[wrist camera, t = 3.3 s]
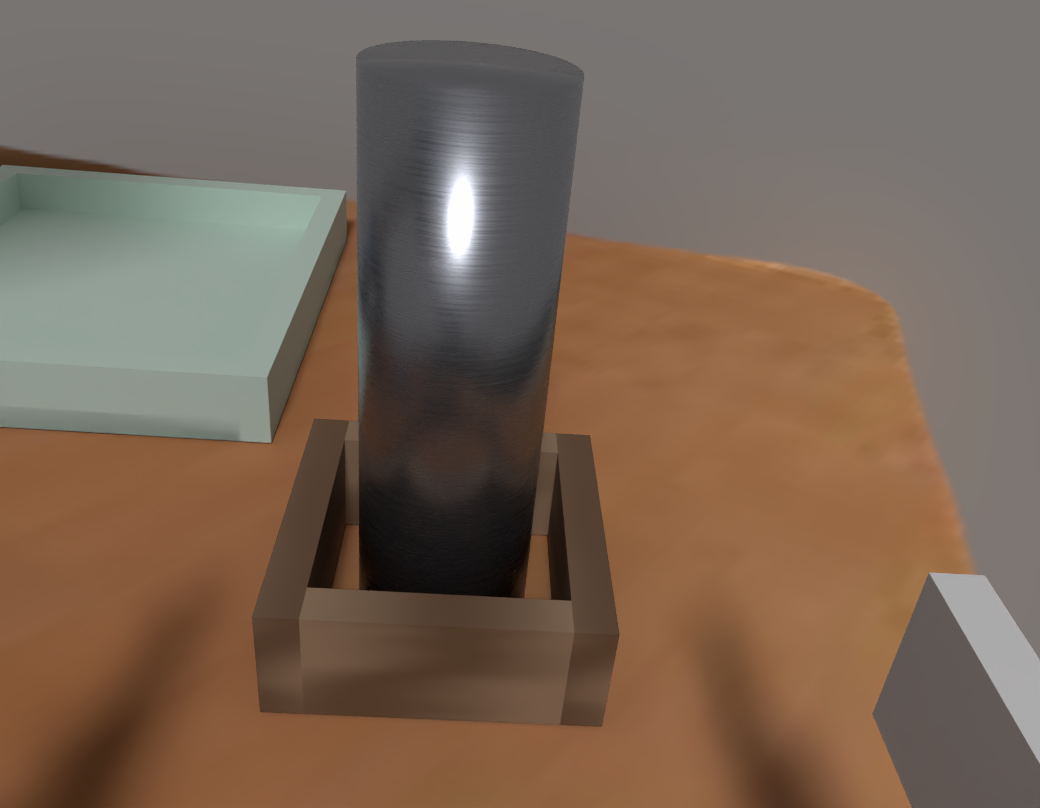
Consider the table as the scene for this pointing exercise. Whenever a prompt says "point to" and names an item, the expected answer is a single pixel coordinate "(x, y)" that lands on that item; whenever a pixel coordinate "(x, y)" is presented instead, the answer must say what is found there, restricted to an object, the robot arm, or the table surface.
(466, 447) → the pin
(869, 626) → the table surface
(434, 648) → the pin socket
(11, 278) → the tray
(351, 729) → the table surface
